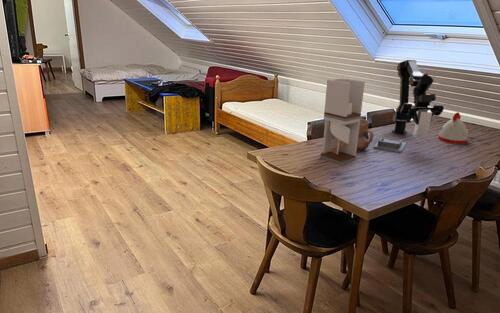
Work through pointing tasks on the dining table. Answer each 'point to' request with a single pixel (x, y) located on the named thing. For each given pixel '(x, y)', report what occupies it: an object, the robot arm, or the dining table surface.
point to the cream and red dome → (454, 131)
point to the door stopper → (367, 132)
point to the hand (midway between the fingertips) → (423, 124)
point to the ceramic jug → (362, 141)
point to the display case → (342, 119)
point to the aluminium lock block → (422, 124)
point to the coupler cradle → (390, 145)
